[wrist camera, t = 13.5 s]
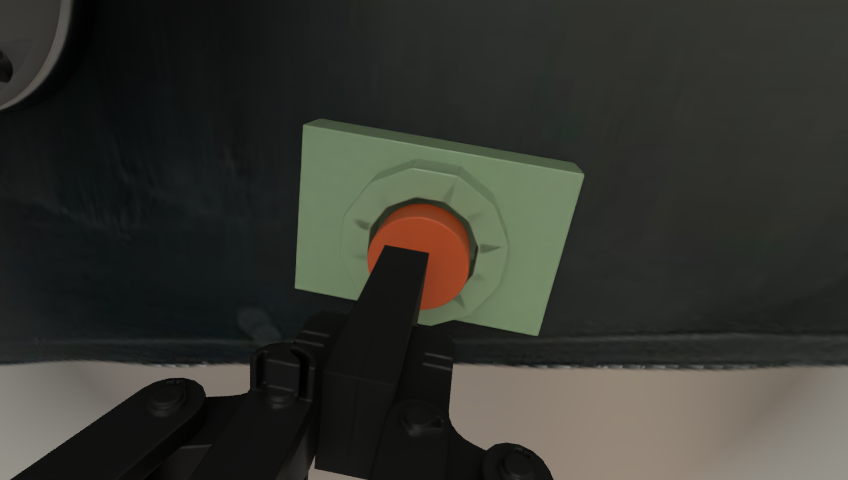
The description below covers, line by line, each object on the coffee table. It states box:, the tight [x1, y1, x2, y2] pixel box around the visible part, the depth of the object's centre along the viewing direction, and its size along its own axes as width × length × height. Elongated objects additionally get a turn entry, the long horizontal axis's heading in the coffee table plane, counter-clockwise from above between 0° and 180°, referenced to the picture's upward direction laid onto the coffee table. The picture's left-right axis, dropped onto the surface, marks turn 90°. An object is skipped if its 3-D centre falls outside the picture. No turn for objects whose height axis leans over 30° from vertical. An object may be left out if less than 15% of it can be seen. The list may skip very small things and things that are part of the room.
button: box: [367, 204, 470, 310], centre depth 19 cm, size 4×4×2 cm
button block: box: [295, 119, 584, 336], centre depth 21 cm, size 12×8×4 cm, turn 81°
